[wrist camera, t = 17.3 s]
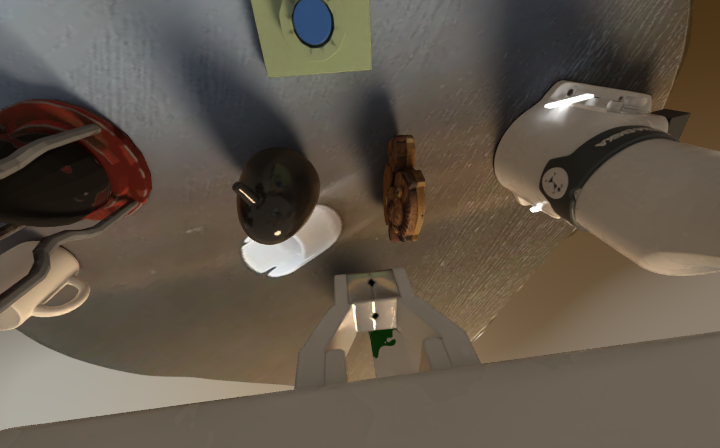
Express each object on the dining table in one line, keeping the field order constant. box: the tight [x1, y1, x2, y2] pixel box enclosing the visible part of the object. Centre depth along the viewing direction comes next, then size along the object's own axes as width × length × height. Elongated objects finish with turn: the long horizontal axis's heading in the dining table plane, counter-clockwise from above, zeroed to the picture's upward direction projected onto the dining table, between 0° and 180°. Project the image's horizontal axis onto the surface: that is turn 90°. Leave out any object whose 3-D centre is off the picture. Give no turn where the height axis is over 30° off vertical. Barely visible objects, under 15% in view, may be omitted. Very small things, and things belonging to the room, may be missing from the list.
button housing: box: [251, 0, 372, 77], centre depth 28 cm, size 12×9×4 cm
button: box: [293, 0, 331, 45], centre depth 26 cm, size 4×4×2 cm
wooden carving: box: [383, 135, 425, 242], centre depth 37 cm, size 16×5×10 cm, turn 6°
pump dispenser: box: [232, 148, 320, 245], centre depth 32 cm, size 10×10×15 cm
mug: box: [0, 241, 90, 330], centre depth 39 cm, size 12×8×10 cm
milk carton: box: [369, 328, 421, 378], centre depth 51 cm, size 9×9×20 cm
